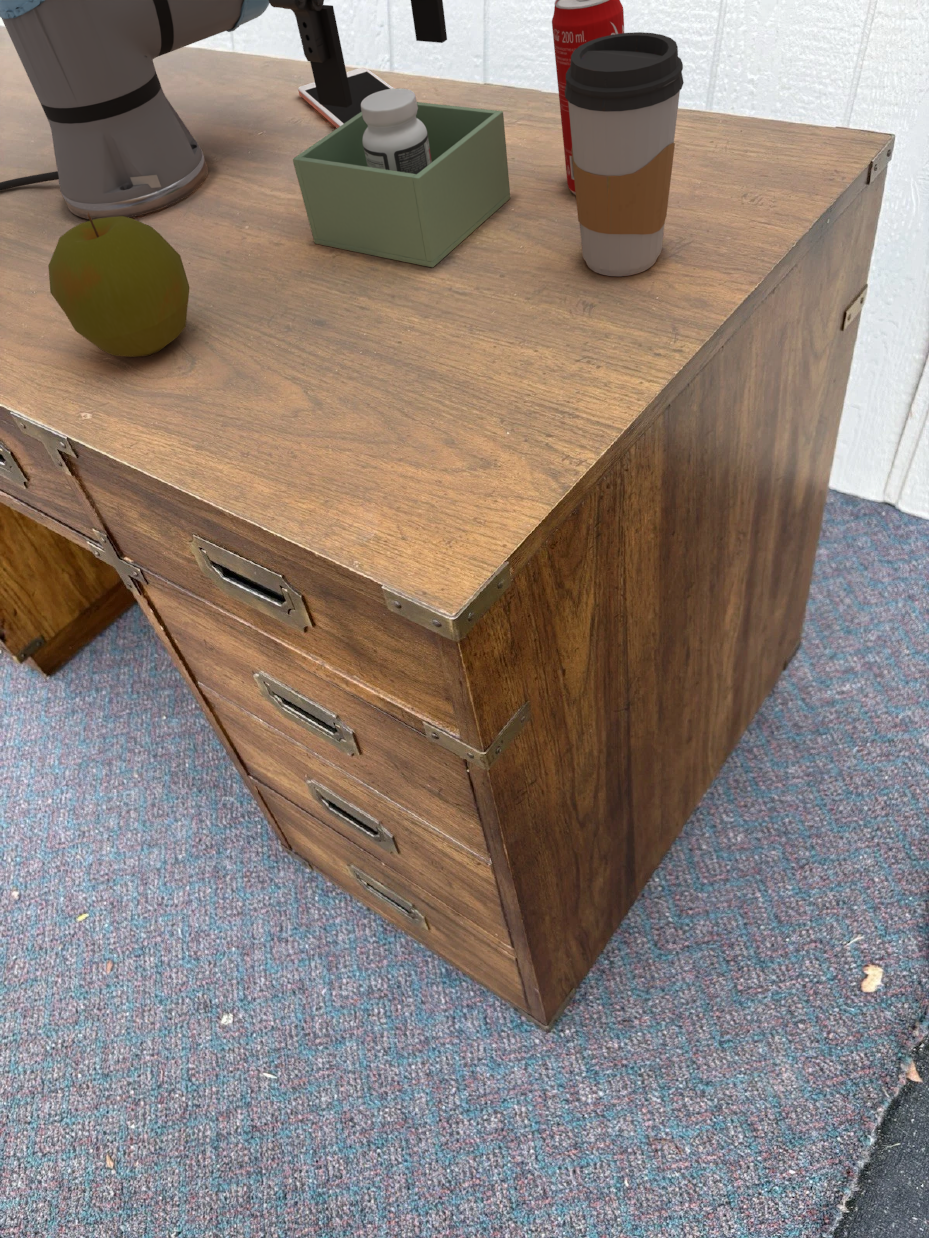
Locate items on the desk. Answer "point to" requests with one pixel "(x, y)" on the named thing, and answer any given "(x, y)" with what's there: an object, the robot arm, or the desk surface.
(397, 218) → the bin
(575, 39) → the beverage can
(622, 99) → the coffee cup
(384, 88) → the cell phone
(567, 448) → the desk surface
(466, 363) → the desk surface
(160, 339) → the apple
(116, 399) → the desk surface
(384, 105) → the pill bottle
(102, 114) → the robot arm
